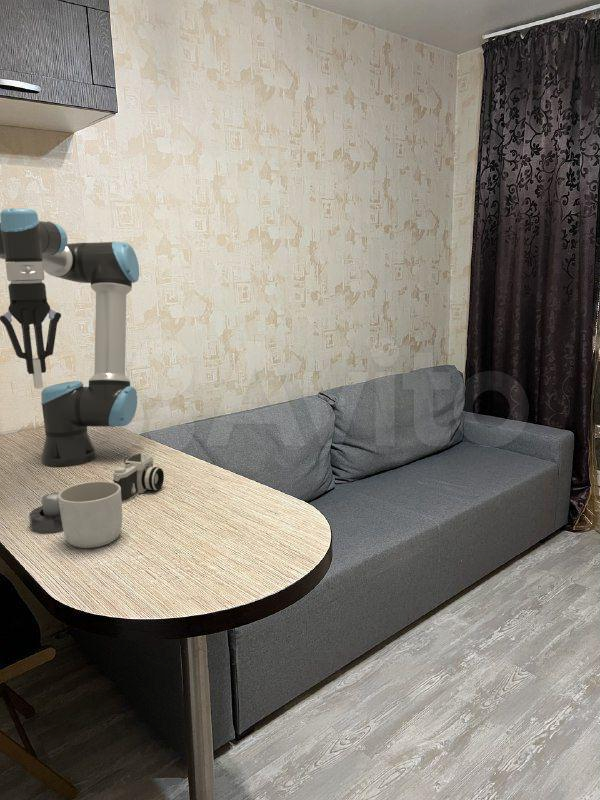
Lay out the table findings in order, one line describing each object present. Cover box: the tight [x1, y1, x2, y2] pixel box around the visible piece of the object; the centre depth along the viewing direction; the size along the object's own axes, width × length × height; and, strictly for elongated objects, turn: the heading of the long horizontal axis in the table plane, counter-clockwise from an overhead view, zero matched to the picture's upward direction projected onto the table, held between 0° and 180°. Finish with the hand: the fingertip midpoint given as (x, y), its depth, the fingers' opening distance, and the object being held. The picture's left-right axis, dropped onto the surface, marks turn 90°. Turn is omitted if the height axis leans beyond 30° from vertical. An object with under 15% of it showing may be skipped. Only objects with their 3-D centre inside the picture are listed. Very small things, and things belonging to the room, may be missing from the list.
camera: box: [112, 452, 165, 503], centre depth 156 cm, size 16×9×10 cm, turn 165°
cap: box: [41, 492, 60, 517], centre depth 138 cm, size 5×5×6 cm
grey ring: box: [28, 505, 64, 535], centre depth 139 cm, size 10×10×3 cm
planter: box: [58, 480, 123, 549], centre depth 129 cm, size 12×12×11 cm
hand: (38, 387), depth 141 cm, fingers closed
